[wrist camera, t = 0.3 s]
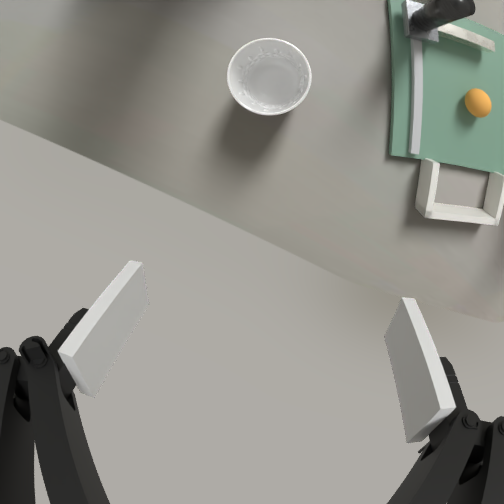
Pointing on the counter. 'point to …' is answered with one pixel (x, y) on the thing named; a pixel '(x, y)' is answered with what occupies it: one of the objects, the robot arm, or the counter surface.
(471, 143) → the pitch
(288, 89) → the white cup
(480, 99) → the ball
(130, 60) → the counter surface
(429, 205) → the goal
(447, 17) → the black lever handle
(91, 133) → the counter surface
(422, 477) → the robot arm
